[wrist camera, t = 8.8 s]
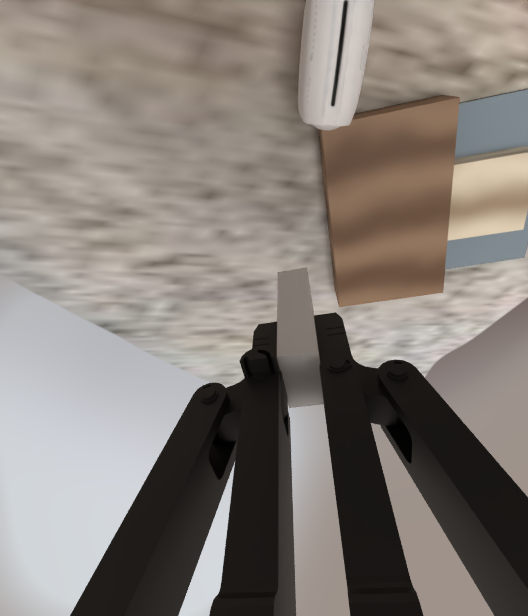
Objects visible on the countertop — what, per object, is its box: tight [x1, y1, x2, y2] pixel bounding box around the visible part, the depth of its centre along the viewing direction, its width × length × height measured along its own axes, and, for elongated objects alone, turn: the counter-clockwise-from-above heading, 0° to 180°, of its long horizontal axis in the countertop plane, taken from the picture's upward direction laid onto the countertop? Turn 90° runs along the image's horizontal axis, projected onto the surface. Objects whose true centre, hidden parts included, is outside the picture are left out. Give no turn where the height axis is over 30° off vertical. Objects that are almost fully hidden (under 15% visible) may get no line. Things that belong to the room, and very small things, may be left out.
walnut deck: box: [318, 95, 460, 307], centre depth 39 cm, size 20×12×4 cm, turn 11°
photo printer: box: [298, 0, 375, 130], centre depth 28 cm, size 10×4×12 cm, turn 178°
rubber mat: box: [445, 89, 528, 269], centre depth 39 cm, size 18×10×1 cm, turn 11°
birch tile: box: [447, 146, 528, 241], centre depth 38 cm, size 8×8×2 cm
